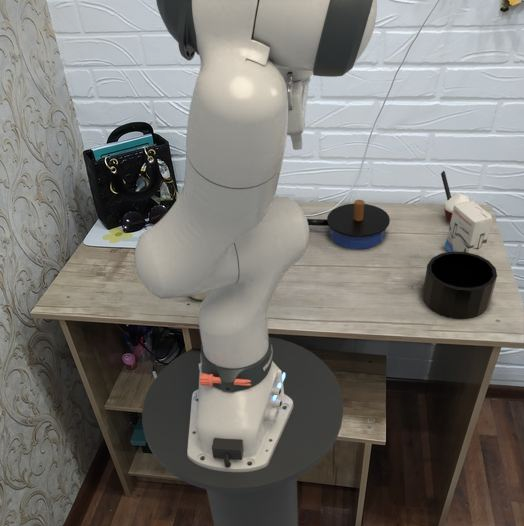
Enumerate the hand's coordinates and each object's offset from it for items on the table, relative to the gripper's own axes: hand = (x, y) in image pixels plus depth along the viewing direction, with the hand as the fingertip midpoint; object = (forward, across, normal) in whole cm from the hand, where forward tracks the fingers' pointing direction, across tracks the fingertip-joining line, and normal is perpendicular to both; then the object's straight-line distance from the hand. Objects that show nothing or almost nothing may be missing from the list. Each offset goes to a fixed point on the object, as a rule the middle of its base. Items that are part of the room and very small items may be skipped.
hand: (299, 137), depth 113 cm
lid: (+28, +13, -11) cm, 33 cm away
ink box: (+34, +4, -35) cm, 49 cm away
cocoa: (+35, +21, -35) cm, 53 cm away
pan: (+32, +13, -10) cm, 36 cm away
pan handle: (+29, +14, +1) cm, 32 cm away
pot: (+33, -12, -31) cm, 47 cm away
